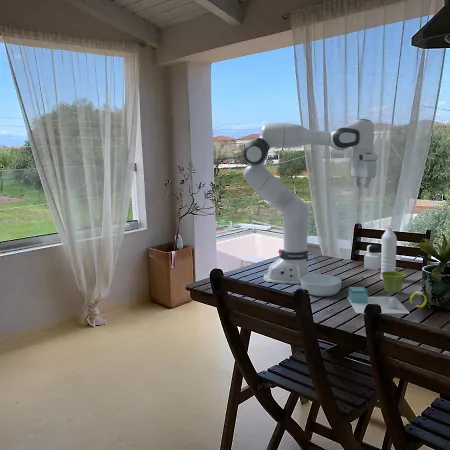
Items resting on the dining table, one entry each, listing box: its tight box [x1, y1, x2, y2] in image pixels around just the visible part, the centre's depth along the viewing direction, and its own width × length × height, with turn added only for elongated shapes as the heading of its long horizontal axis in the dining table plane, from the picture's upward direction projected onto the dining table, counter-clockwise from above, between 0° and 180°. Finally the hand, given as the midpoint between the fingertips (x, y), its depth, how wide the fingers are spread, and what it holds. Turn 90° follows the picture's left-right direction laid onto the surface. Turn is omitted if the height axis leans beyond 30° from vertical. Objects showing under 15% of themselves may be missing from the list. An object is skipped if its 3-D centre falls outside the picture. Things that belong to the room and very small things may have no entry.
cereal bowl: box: [300, 273, 342, 297], centre depth 184 cm, size 17×17×7 cm
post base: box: [346, 296, 410, 314], centre depth 166 cm, size 19×19×5 cm
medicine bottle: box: [363, 244, 382, 271], centre depth 225 cm, size 7×7×12 cm
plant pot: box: [380, 270, 406, 294], centre depth 183 cm, size 9×9×9 cm
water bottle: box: [380, 224, 398, 281], centre depth 204 cm, size 9×6×25 cm
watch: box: [409, 290, 428, 308], centre depth 167 cm, size 6×3×6 cm, turn 87°
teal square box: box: [348, 286, 368, 304], centre depth 172 cm, size 6×6×4 cm
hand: (362, 187), depth 195 cm, fingers open, 8 cm apart
